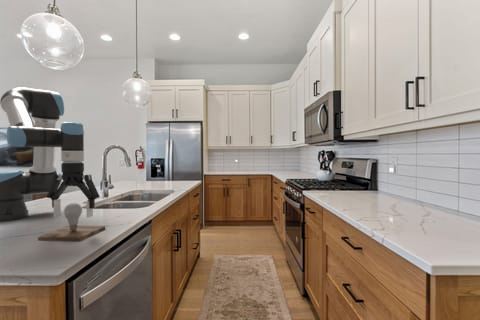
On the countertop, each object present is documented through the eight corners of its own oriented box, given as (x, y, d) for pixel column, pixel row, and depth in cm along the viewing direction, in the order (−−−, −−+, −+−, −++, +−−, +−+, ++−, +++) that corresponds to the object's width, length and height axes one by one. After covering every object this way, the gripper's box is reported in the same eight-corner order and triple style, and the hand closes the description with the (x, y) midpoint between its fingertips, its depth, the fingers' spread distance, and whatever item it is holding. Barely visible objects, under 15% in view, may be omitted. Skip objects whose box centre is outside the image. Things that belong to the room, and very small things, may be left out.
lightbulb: (86, 229, 109) (85, 202, 109) (72, 233, 104) (71, 204, 103) (74, 228, 111) (74, 201, 111) (60, 232, 106) (60, 204, 105)
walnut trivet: (69, 228, 116) (69, 225, 116) (105, 229, 115) (105, 226, 115) (38, 239, 100) (38, 236, 100) (79, 241, 99) (79, 237, 99)
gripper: (35, 162, 104) (36, 217, 105) (97, 162, 102) (97, 219, 103) (50, 161, 112) (51, 213, 112) (108, 162, 110) (109, 214, 110)
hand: (73, 216), depth 107 cm, fingers open, 13 cm apart
